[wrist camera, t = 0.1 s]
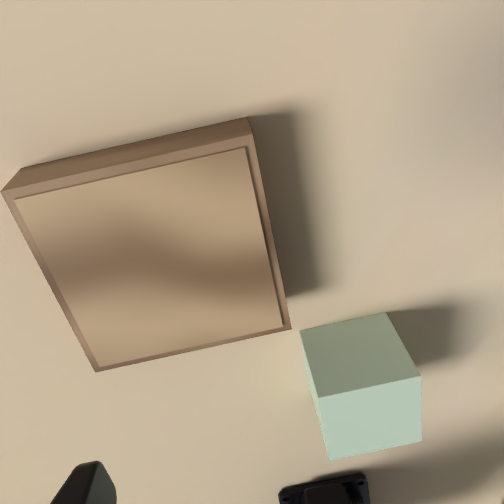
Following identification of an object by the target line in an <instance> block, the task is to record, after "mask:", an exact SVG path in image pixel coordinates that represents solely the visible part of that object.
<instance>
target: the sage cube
mask: <svg viewBox="0 0 504 504" xmlns="http://www.w3.org/2000/svg"><path fill="white" fill-rule="evenodd" d="M299 333H300V338H301V343H302V348H303V354H304V359H305V364H306V369H307V375H308V380H309V385H310V390H311V394H312V398H313V402H314V405H315V409H316V413H317V416H318V420H319V424H320V427H321V431H322V435H323V438H324V442H325V446H326V450H327V453H328V457H329V461H332V460H337V459H342V458H346V457H351V456H356V455H360V454H365V453H369V452H374V451H379V450H383V449H388V448H393V447H397V446H402V445H407V444H411V443H416V442H421V441H422V428H421V375H420V373H419V371H418V370H417V368H416V366H415V364H414V362H413V361H412V359H411V357H410V355H409V353H408V352H407V350H406V348H405V346H404V344H403V343H402V341H401V339H400V337H399V335H398V334H397V332H396V330H395V328H394V326H393V325H392V323H391V321H390V319H389V317H388V316H387V314H386V312H383V313H379V314H374V315H370V316H365V317H360V318H356V319H351V320H347V321H342V322H338V323H333V324H329V325H324V326H320V327H315V328H311V329H306V330H301V331H299Z"/></svg>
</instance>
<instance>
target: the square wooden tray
mask: <svg viewBox="0 0 504 504" xmlns="http://www.w3.org/2000/svg"><path fill="white" fill-rule="evenodd" d="M0 192H1V194H2V196H3V198H4V200H5V202H6V204H7V205H8V207H9V209H10V211H11V213H12V215H13V217H14V219H15V221H16V223H17V224H18V226H19V228H20V230H21V232H22V234H23V236H24V238H25V240H26V242H27V244H28V245H29V247H30V249H31V251H32V253H33V255H34V257H35V259H36V261H37V263H38V264H39V266H40V268H41V270H42V272H43V274H44V276H45V278H46V280H47V282H48V284H49V285H50V287H51V289H52V291H53V293H54V295H55V297H56V299H57V301H58V303H59V304H60V306H61V308H62V310H63V312H64V314H65V316H66V318H67V320H68V322H69V324H70V325H71V327H72V329H73V331H74V333H75V335H76V337H77V339H78V341H79V343H80V344H81V346H82V348H83V350H84V352H85V354H86V356H87V358H88V360H89V362H90V363H91V365H92V367H93V369H94V371H95V372H99V371H104V370H109V369H113V368H118V367H122V366H127V365H131V364H136V363H140V362H145V361H149V360H154V359H158V358H163V357H168V356H172V355H177V354H181V353H186V352H190V351H195V350H199V349H204V348H208V347H213V346H218V345H222V344H227V343H231V342H236V341H240V340H245V339H249V338H254V337H258V336H263V335H267V334H272V333H277V332H281V331H286V330H290V329H292V328H291V323H290V318H289V313H288V308H287V303H286V298H285V293H284V288H283V283H282V278H281V273H280V268H279V263H278V258H277V253H276V248H275V243H274V238H273V233H272V228H271V223H270V218H269V213H268V209H267V204H266V199H265V194H264V189H263V184H262V179H261V174H260V169H259V164H258V159H257V154H256V149H255V144H254V139H253V134H252V131H251V128H250V125H249V122H248V119H247V117H245V118H240V119H236V120H231V121H227V122H223V123H218V124H214V125H209V126H205V127H201V128H196V129H192V130H188V131H183V132H179V133H174V134H170V135H166V136H161V137H157V138H152V139H148V140H144V141H139V142H135V143H130V144H126V145H122V146H117V147H113V148H109V149H104V150H100V151H95V152H91V153H87V154H82V155H78V156H73V157H69V158H65V159H60V160H56V161H51V162H47V163H43V164H38V165H34V166H29V167H25V168H21V169H20V170H19V171H18V172H17V173H16V174H15V176H14V177H13V178H12V179H11V180H10V181H9V182H8V183H7V185H6V186H5V187H4V188H3V189H2V190H1V191H0Z"/></svg>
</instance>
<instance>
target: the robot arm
mask: <svg viewBox="0 0 504 504" xmlns="http://www.w3.org/2000/svg"><path fill="white" fill-rule="evenodd" d="M278 497H279V502H280V504H370V499H369V491H368V482H367V479H366V476H365V475H364V474H356V475H352V476H347V477H342V478H338V479H333V480H329V481H324V482H319V483H315V484H310V485H305V486H301V487H296V488H291V489H287V490H283V491H281V492H279V494H278ZM116 502H117V496H116V489H115V486H114V484H113V482H112V480H111V478H110V476H109V475H108V473H107V471H106V469H105V467H104V466H103V464H102V463H101V462H99V461H93V462H88V463H83V464H80V465H78V466H76V467H75V468H74V470H73V471H72V473H71V474H70V475H69V477H68V478H67V480H66V481H65V483H64V484H63V486H62V487H61V489H60V490H59V491H58V493H57V494H56V496H55V497H54V499H53V500H52V502H51V503H50V504H116Z"/></svg>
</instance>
